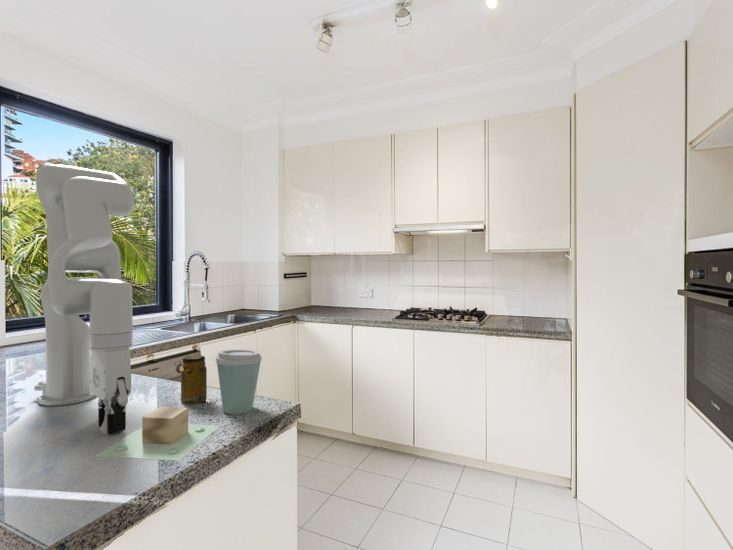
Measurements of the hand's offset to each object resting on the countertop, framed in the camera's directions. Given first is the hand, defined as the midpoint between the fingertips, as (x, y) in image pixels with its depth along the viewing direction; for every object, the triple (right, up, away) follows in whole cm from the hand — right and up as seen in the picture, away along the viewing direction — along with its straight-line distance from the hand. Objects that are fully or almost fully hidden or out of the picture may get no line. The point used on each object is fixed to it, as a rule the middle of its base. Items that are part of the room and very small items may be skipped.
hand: (111, 427), depth 85 cm
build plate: (+13, -2, -4) cm, 13 cm away
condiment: (+10, -1, +19) cm, 22 cm away
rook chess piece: (0, -2, 0) cm, 2 cm away
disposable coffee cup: (+22, -2, +13) cm, 26 cm away
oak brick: (+13, -1, -3) cm, 13 cm away
